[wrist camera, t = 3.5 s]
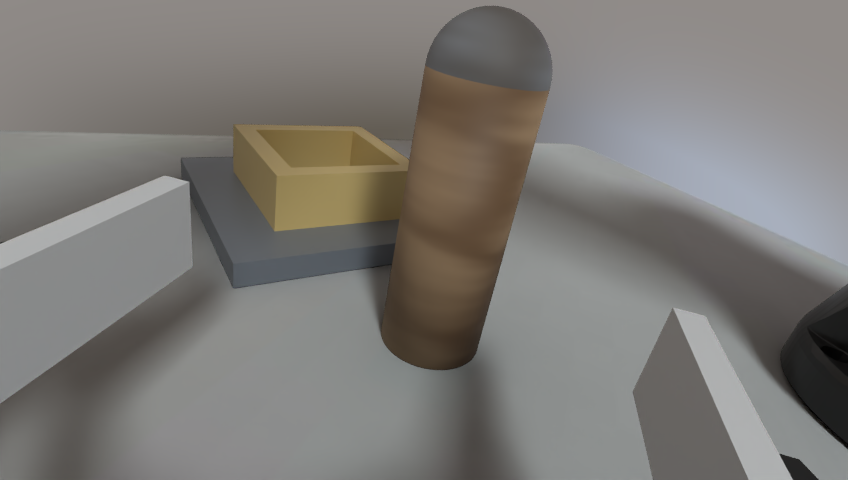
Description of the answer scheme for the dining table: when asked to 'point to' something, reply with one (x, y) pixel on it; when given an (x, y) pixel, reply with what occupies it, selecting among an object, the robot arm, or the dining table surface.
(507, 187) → the grey-capped wooden peg
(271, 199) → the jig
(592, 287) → the dining table surface
